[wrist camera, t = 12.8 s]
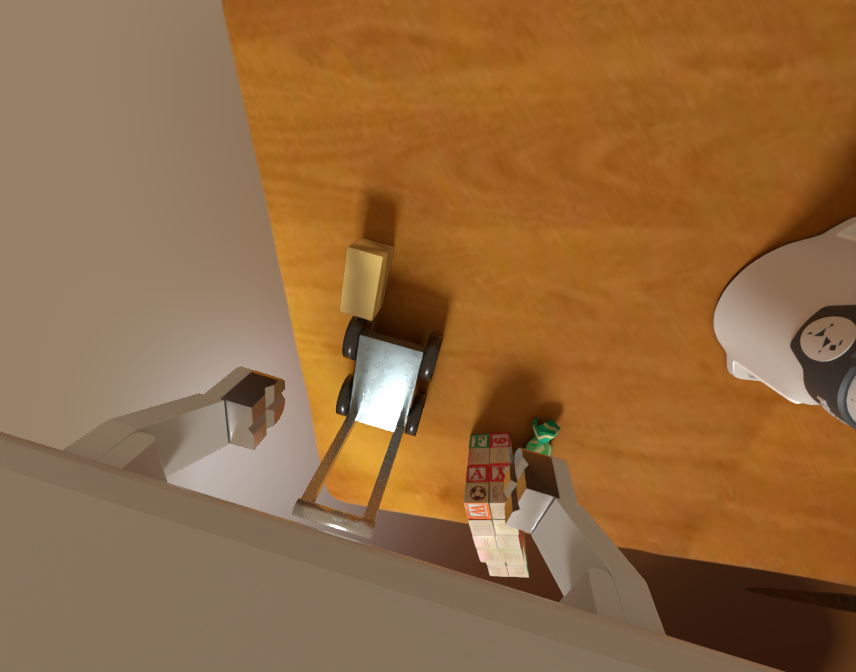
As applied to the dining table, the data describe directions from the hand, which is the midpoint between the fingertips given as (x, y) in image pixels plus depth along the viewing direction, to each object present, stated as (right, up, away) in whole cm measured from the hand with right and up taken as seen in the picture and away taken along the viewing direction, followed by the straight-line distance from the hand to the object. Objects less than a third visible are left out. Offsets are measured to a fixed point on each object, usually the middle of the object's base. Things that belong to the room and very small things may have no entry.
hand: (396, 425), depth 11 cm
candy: (+18, -14, +40) cm, 46 cm away
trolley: (-4, -1, +37) cm, 37 cm away
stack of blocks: (+13, -21, +45) cm, 51 cm away
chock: (-6, +11, +31) cm, 34 cm away
